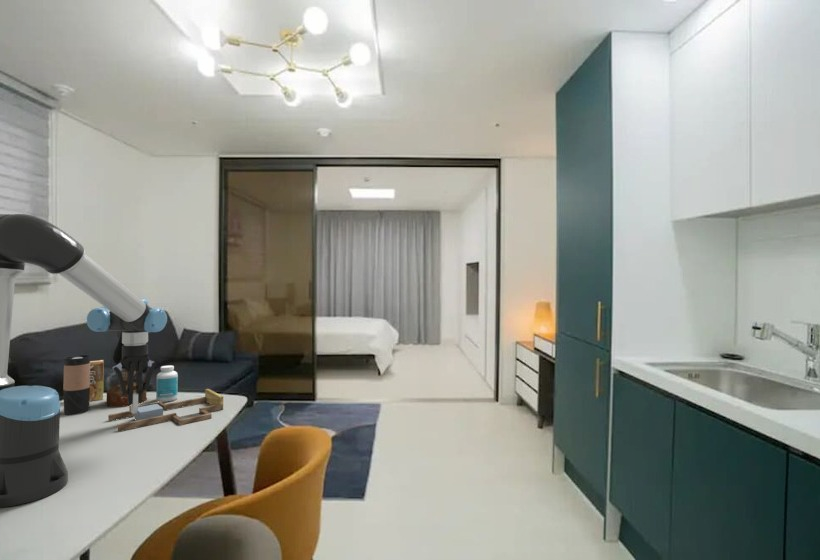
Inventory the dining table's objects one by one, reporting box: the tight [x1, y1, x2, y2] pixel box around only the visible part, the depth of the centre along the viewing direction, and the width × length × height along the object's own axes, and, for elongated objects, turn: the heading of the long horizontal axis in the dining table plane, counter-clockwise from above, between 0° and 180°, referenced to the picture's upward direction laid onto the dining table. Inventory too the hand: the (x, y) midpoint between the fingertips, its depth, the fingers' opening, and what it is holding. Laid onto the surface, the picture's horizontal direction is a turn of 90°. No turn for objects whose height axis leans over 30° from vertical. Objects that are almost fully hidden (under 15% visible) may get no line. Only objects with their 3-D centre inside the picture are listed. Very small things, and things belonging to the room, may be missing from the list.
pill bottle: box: [155, 365, 179, 403], centre depth 170 cm, size 8×7×14 cm
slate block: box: [133, 404, 164, 421], centre depth 147 cm, size 7×7×4 cm
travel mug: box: [62, 354, 91, 416], centre depth 154 cm, size 8×8×20 cm
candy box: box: [89, 359, 105, 402], centre depth 168 cm, size 9×4×15 cm, turn 127°
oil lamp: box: [105, 331, 148, 408], centre depth 168 cm, size 14×15×40 cm
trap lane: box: [107, 388, 224, 432], centre depth 152 cm, size 33×28×5 cm
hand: (134, 412), depth 145 cm, fingers closed
